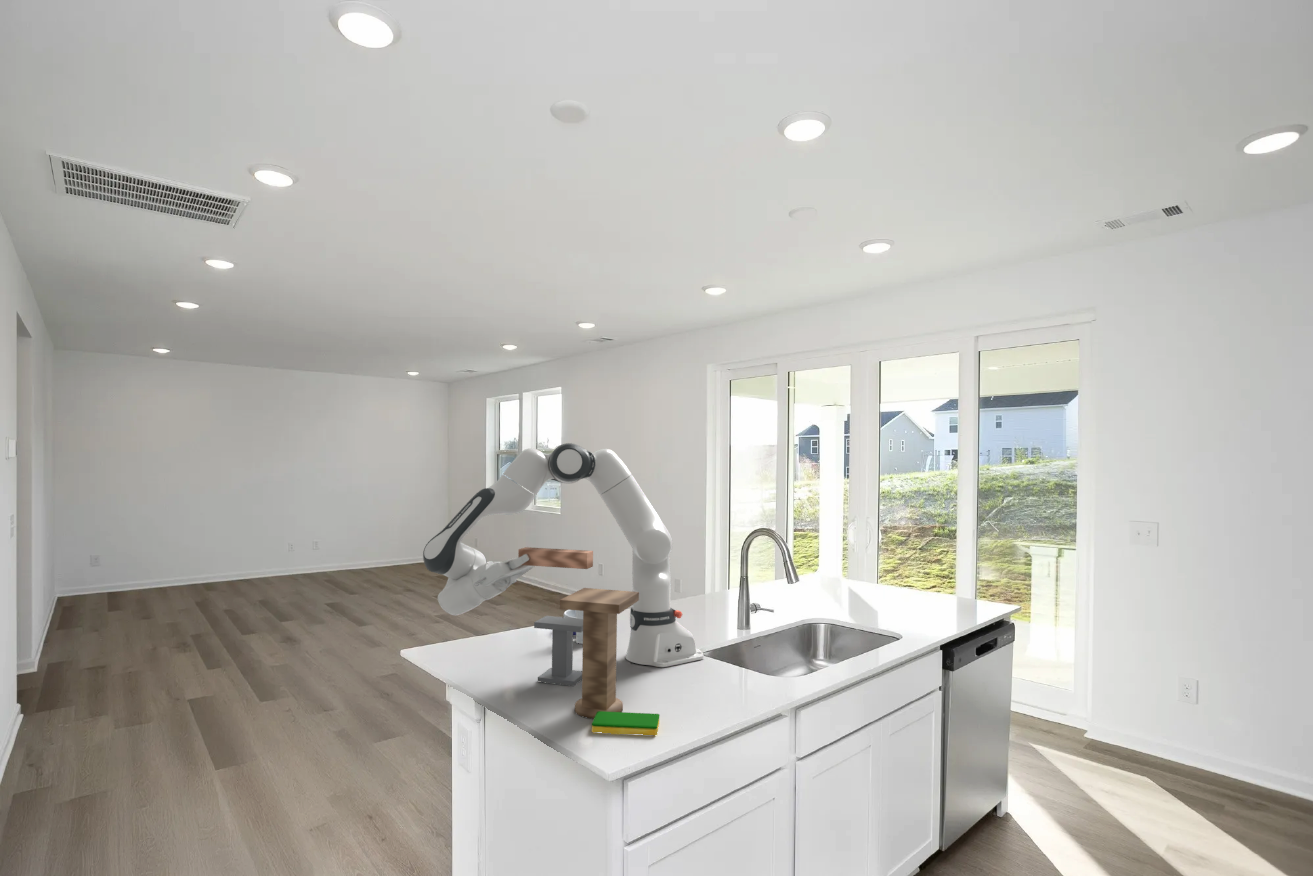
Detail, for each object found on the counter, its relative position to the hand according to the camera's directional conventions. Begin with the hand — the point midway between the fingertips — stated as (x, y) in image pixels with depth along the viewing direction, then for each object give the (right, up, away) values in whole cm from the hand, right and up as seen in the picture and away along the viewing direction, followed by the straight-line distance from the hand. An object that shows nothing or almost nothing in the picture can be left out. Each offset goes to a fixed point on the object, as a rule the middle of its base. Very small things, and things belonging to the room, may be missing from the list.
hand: (533, 554), depth 174 cm
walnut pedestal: (+19, -32, -20) cm, 42 cm away
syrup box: (+10, -33, +35) cm, 49 cm away
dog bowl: (+9, -34, +48) cm, 59 cm away
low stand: (+7, -32, 0) cm, 33 cm away
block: (+6, -2, -2) cm, 7 cm away
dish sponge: (+25, -33, -30) cm, 51 cm away
